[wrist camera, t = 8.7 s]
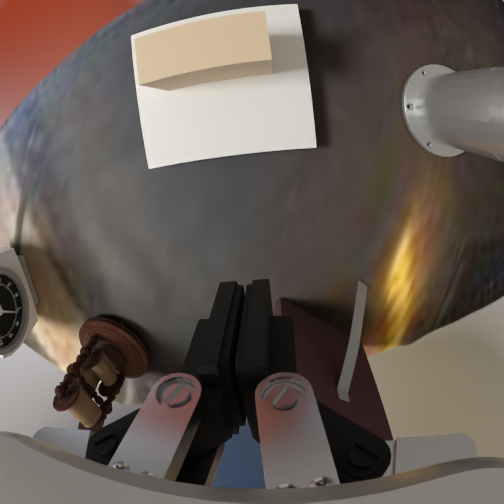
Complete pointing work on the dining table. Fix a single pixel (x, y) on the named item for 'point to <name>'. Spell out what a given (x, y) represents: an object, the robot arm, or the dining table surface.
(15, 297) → the alarm clock
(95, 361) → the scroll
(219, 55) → the carton
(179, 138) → the display podium
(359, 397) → the picture frame
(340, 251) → the dining table surface
